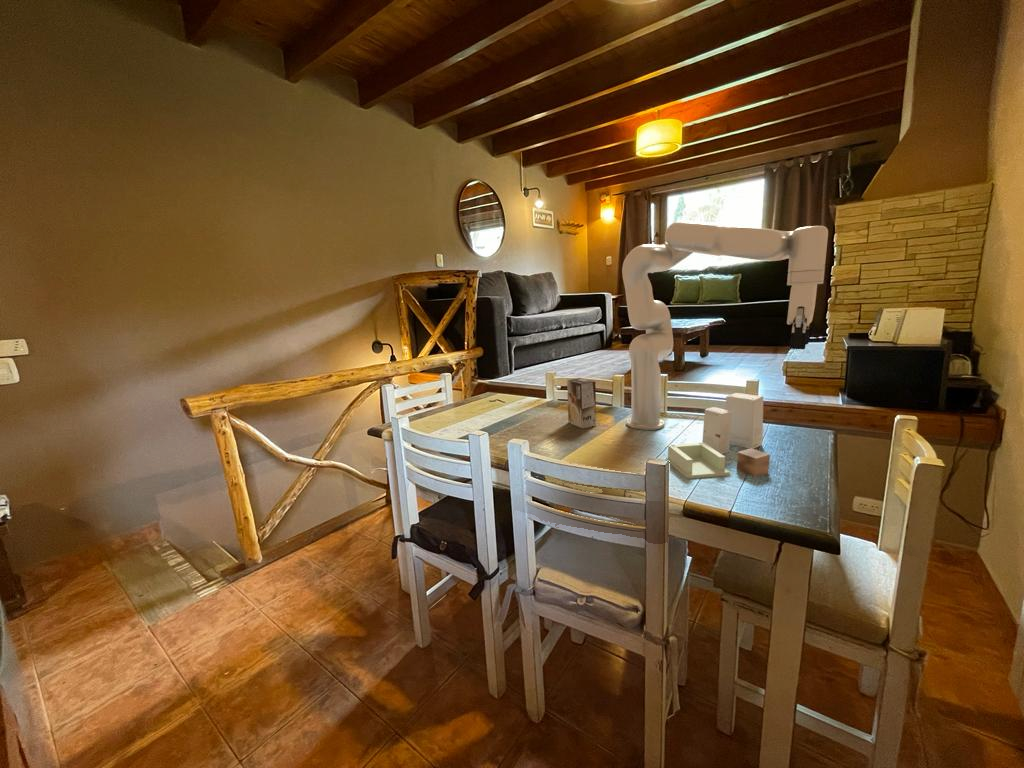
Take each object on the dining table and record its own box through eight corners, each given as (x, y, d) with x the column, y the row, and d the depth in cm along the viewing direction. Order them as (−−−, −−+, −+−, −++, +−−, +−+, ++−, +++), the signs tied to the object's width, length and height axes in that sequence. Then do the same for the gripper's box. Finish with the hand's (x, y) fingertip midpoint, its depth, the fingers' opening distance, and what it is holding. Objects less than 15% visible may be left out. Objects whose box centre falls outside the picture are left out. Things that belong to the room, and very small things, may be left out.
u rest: (666, 460, 116) (666, 445, 115) (704, 457, 117) (705, 442, 116) (687, 478, 104) (687, 462, 103) (729, 475, 105) (730, 458, 104)
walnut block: (736, 470, 108) (737, 452, 107) (749, 466, 110) (751, 448, 109) (754, 477, 103) (756, 458, 102) (768, 473, 105) (769, 454, 104)
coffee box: (597, 425, 149) (596, 381, 145) (582, 429, 146) (581, 384, 142) (581, 419, 157) (580, 377, 153) (567, 422, 154) (566, 379, 150)
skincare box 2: (762, 445, 123) (766, 396, 120) (751, 450, 120) (755, 399, 116) (734, 438, 130) (737, 391, 127) (723, 442, 126) (725, 394, 123)
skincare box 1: (701, 448, 123) (702, 408, 120) (712, 445, 125) (714, 406, 122) (719, 455, 117) (721, 413, 115) (730, 452, 119) (732, 411, 117)
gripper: (791, 279, 115) (786, 342, 118) (783, 280, 101) (777, 350, 105) (825, 277, 110) (819, 342, 114) (821, 277, 97) (814, 351, 100)
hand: (799, 346), depth 109 cm, fingers open, 9 cm apart
